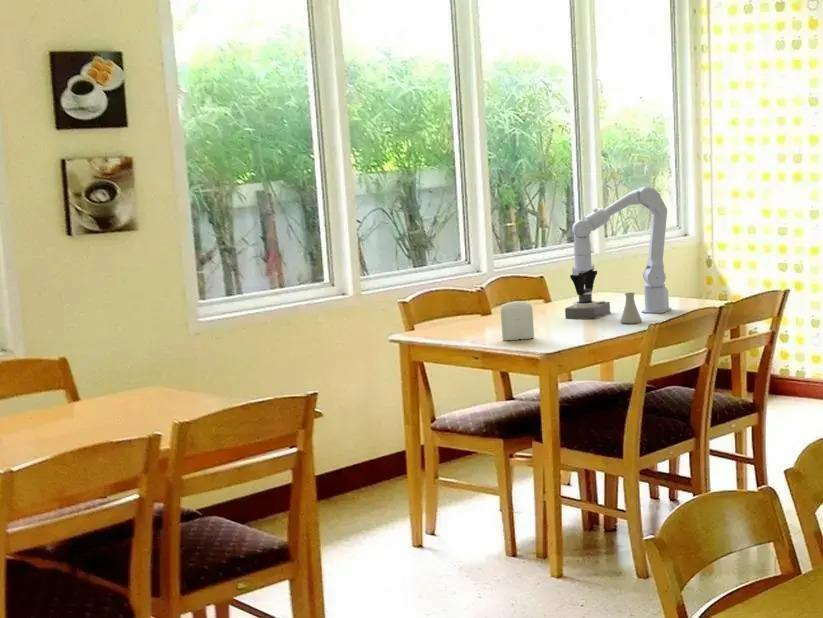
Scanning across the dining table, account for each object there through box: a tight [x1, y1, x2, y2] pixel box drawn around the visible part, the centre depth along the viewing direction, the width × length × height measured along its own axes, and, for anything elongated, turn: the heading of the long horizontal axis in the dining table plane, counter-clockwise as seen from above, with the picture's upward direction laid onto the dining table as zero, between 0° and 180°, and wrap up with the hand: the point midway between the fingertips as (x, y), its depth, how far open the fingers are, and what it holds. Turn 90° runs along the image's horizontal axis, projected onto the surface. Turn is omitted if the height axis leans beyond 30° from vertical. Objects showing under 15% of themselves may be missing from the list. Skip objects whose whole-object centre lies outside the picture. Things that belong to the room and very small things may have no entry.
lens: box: [578, 288, 593, 304], centre depth 429 cm, size 5×5×6 cm
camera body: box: [564, 300, 611, 320], centre depth 432 cm, size 14×11×5 cm
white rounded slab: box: [500, 300, 535, 341], centre depth 392 cm, size 10×4×12 cm, turn 91°
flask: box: [619, 292, 642, 325], centre depth 410 cm, size 7×7×10 cm
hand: (584, 293), depth 429 cm, fingers open, 7 cm apart
